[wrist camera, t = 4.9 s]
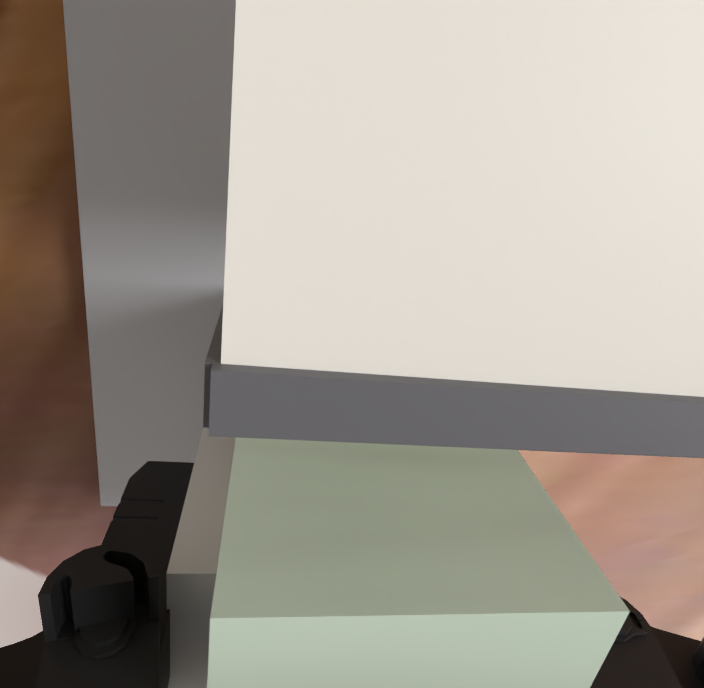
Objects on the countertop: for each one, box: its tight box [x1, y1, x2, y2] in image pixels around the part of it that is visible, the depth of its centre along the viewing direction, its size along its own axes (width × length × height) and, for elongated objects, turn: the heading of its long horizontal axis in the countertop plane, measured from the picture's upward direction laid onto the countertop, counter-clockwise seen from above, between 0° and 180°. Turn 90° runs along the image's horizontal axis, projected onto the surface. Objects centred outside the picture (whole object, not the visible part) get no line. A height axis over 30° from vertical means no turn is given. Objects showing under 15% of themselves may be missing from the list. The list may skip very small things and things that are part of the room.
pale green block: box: [207, 437, 630, 688], centre depth 10 cm, size 6×4×9 cm, turn 172°
